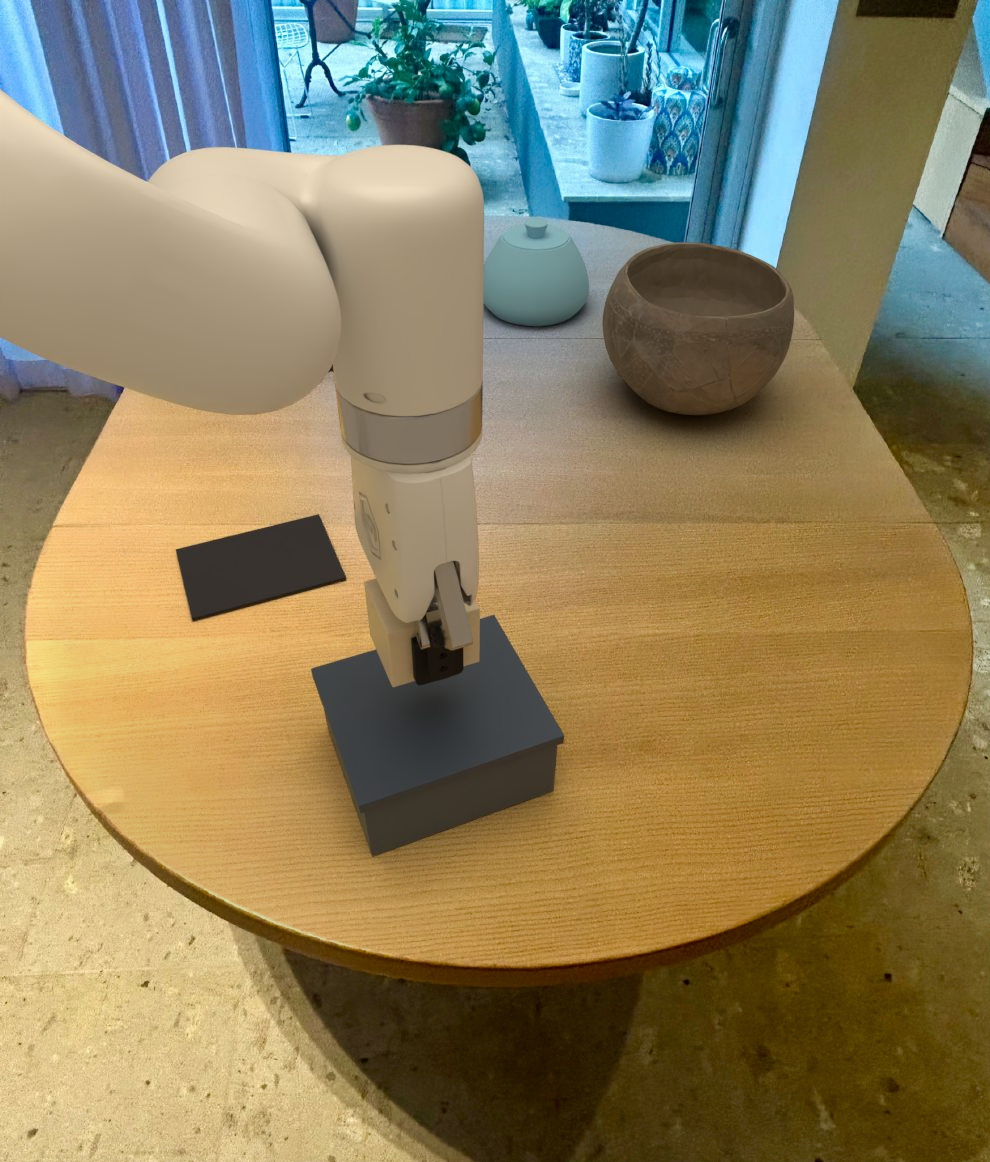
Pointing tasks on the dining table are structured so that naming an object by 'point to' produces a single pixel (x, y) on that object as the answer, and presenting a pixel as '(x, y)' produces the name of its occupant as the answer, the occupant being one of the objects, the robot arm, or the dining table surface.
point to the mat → (258, 566)
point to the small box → (407, 635)
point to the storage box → (438, 741)
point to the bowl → (697, 326)
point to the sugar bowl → (535, 275)
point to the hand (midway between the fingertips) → (423, 643)
